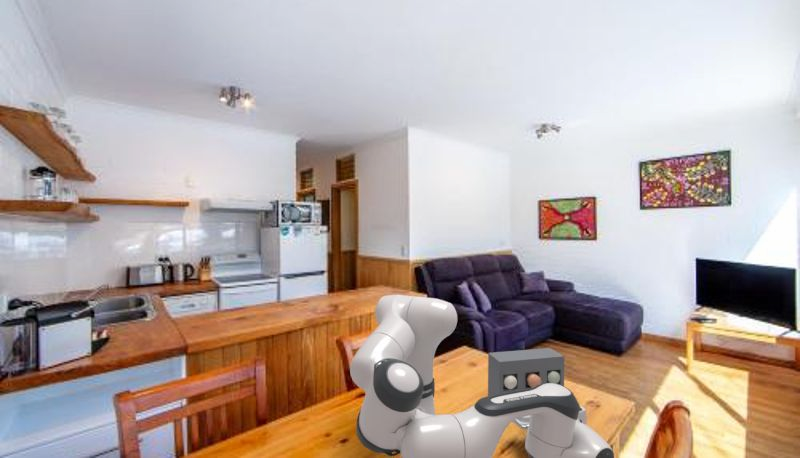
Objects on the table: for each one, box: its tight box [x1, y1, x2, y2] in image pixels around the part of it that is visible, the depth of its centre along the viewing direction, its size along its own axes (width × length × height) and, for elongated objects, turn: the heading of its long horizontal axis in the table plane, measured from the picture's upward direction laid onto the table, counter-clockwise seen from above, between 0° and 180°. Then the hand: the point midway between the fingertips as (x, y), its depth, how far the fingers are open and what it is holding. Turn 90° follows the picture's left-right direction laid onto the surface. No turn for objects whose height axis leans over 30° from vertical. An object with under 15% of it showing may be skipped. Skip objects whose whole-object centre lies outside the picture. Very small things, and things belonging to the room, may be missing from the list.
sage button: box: [547, 370, 560, 384], centre depth 118 cm, size 4×2×4 cm, turn 102°
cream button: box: [503, 374, 517, 389], centre depth 115 cm, size 4×2×4 cm, turn 102°
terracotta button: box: [526, 373, 541, 388], centre depth 115 cm, size 4×2×4 cm, turn 102°
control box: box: [487, 347, 565, 396], centre depth 120 cm, size 24×8×16 cm, turn 102°
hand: (527, 398), depth 105 cm, fingers closed
